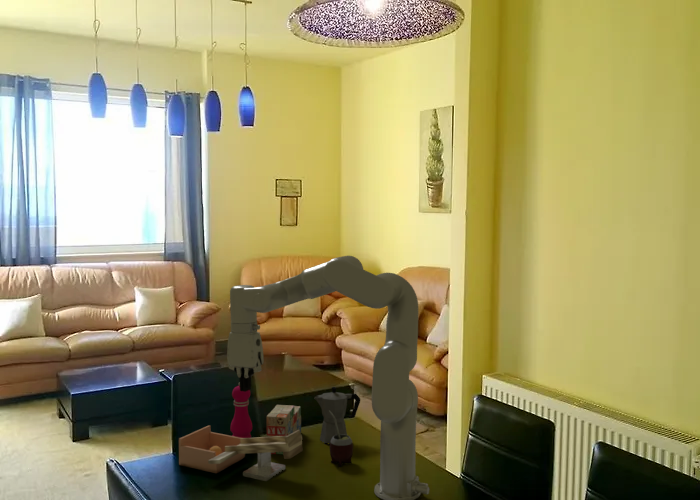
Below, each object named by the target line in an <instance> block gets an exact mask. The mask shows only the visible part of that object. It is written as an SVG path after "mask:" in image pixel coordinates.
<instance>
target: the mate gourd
mask: <svg viewBox="0 0 700 500" xmlns="http://www.w3.org/2000/svg"><path fill="white" fill-rule="evenodd" d="M329 412H330V414H331V415H332V417H333V418H334V422H335V425H336V429H337V433H338V435H335V436H333V437H332V439H331V441H330V445H329V454H330V459H331V460H330V463H331V464H338V467H339V468H342V467H341V466H343V464H342V463H351V464H352V457H353V452H354V442H353V440H352V438H351V437H350V436H349V435H348V434H347V435H343V434H339V430H338V426H337V420H336V418H335V416H334V415H333V414H332V412H331V411H330V410H329Z"/></svg>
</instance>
